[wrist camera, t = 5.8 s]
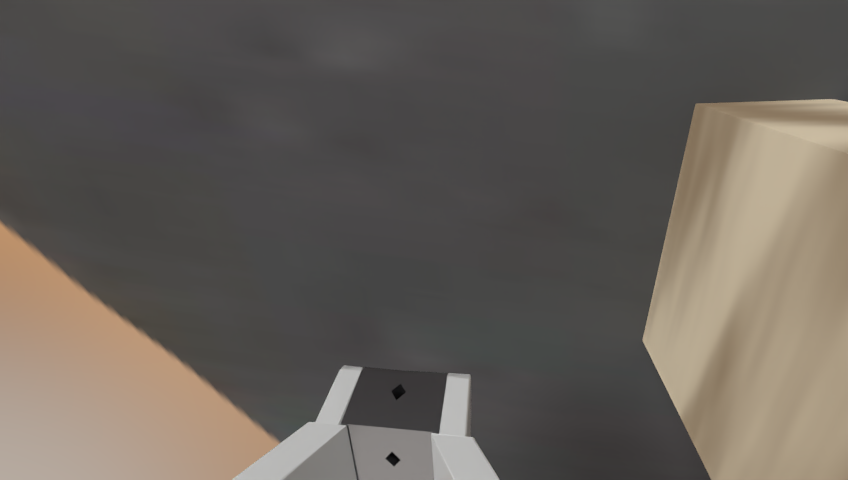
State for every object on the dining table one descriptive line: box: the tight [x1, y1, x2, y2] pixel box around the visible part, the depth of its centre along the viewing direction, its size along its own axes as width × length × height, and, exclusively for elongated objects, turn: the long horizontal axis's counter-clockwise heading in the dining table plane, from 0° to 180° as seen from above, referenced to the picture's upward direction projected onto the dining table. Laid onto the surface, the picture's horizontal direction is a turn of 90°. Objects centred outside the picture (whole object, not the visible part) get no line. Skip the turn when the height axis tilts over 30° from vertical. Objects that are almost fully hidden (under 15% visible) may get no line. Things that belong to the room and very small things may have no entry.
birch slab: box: [643, 99, 848, 480], centre depth 11 cm, size 4×10×10 cm, turn 3°
